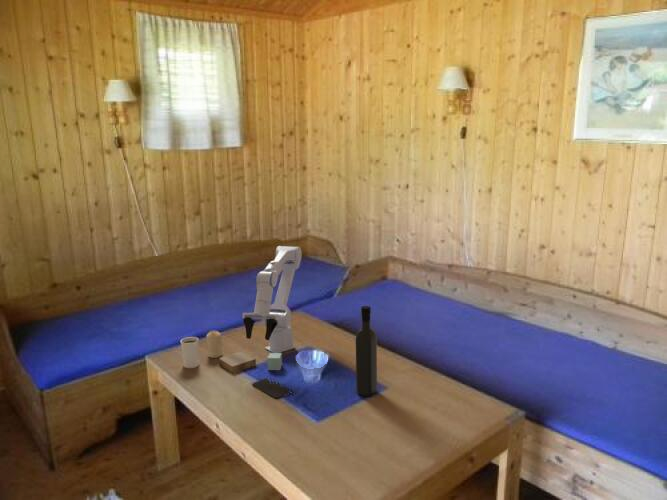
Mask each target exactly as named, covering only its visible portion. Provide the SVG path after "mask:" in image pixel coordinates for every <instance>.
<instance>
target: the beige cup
mask: <svg viewBox="0 0 667 500" xmlns="http://www.w3.org/2000/svg"><path fill="white" fill-rule="evenodd" d="M199 343H200V340H199V338H198V337H196V336H187V337H184V338H182V339H181V340H180V345H181V346H180V347H181V355H182V362H183V367H184V368H186V369H194V368H197V367H198V366H199V365H200V347H199V345H200V344H199Z"/></svg>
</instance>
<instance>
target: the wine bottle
mask: <svg viewBox="0 0 667 500" xmlns="http://www.w3.org/2000/svg"><path fill="white" fill-rule="evenodd" d="M360 308H361V309H360V310H361V313H360V314H361V328H360V329H359V330H358V331H357V333H356V336H355V380H356V381H355V383H356V389H355V390H356V394H357V395H361V396H364V397H368V398H369V397H373V395H375V393H377V392H378V354H377V353H378V351H377V350H378V345H377V344H378V341H377V340H378V338H377V337H378V336H377V333H376V332H375V331H374V329H373V328H371V312H372V311H371V306H369V305H365V306H361V307H360Z"/></svg>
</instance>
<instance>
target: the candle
mask: <svg viewBox="0 0 667 500" xmlns="http://www.w3.org/2000/svg"><path fill="white" fill-rule="evenodd" d="M206 344H207V346H206V347H207V356H208V357H209V358H211V359H216V358H221V357H223V347H222V335H221V333H220V332H219V331H218V330H217V329H216V330H215V329H214V330H213V329H212V330H210V331H208V333H207V334H206Z"/></svg>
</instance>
